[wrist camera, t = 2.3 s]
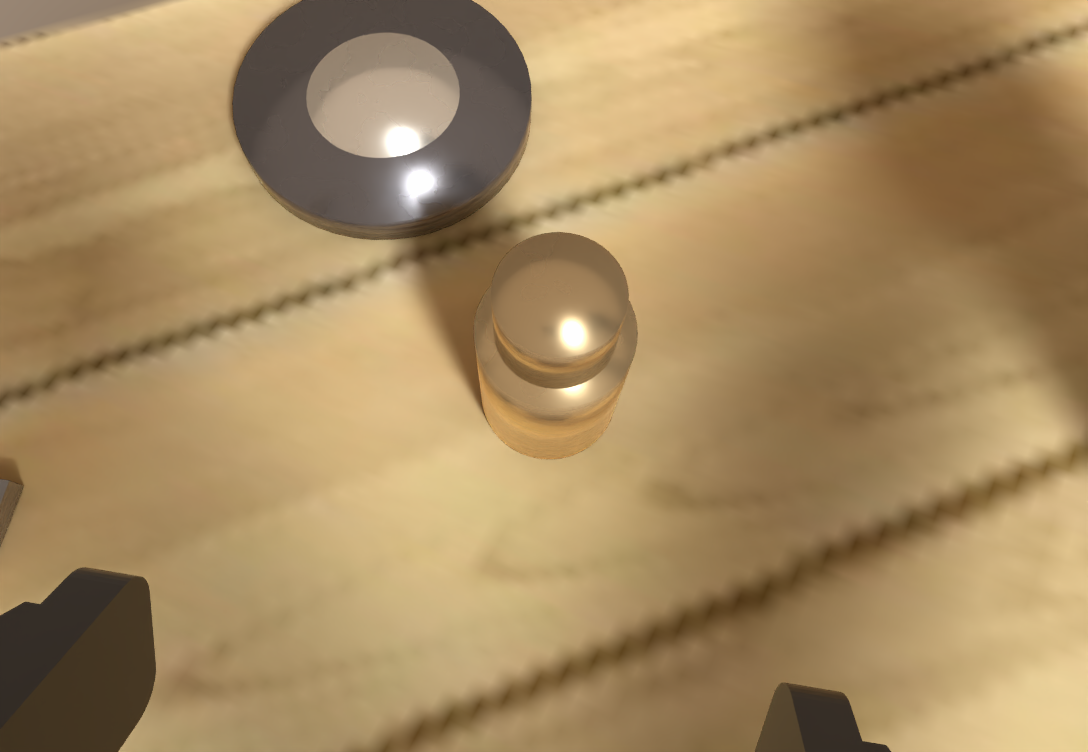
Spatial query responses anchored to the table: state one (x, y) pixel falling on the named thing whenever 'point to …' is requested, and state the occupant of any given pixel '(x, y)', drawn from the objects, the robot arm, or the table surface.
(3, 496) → the dial gauge
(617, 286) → the weight
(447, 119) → the turntable
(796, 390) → the table surface
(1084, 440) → the table surface
